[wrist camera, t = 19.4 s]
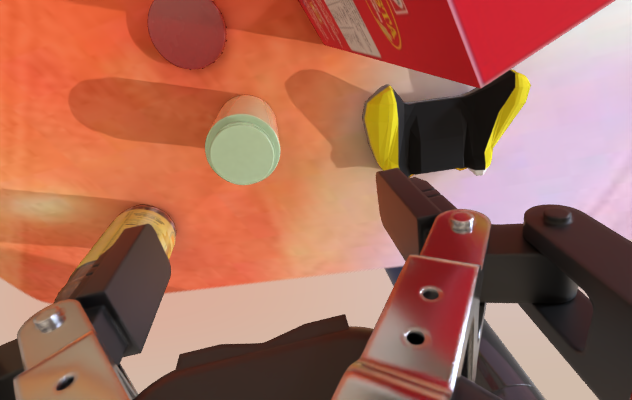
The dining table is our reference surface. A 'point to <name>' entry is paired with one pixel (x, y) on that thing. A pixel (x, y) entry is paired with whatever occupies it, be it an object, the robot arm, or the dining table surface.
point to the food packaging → (448, 32)
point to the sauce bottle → (112, 233)
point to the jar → (243, 141)
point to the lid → (187, 31)
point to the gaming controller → (442, 126)
